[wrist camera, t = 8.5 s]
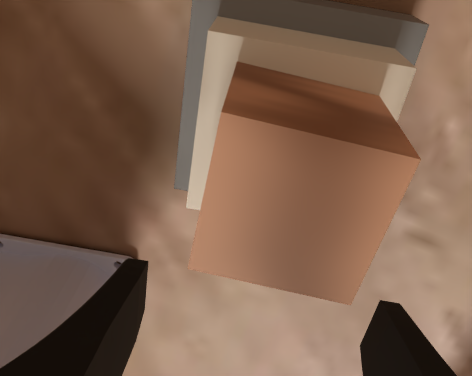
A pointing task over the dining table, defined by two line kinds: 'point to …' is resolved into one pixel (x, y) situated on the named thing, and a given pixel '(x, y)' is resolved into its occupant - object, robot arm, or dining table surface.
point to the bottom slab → (295, 18)
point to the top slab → (291, 62)
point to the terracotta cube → (300, 184)
